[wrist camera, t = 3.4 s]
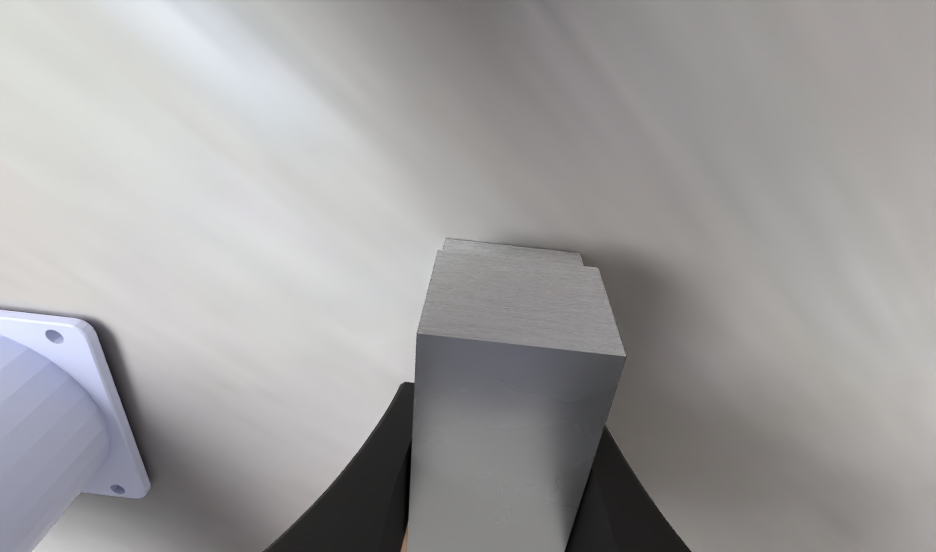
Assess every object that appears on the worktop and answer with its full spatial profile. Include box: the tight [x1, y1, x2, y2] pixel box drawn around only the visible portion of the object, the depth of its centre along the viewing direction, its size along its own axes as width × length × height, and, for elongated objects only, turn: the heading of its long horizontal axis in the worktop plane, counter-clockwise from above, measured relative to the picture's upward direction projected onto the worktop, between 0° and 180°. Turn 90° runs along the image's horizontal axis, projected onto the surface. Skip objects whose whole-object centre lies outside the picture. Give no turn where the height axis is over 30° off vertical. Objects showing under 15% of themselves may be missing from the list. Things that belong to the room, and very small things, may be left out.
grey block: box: [407, 238, 626, 552], centre depth 13 cm, size 4×9×5 cm, turn 175°
